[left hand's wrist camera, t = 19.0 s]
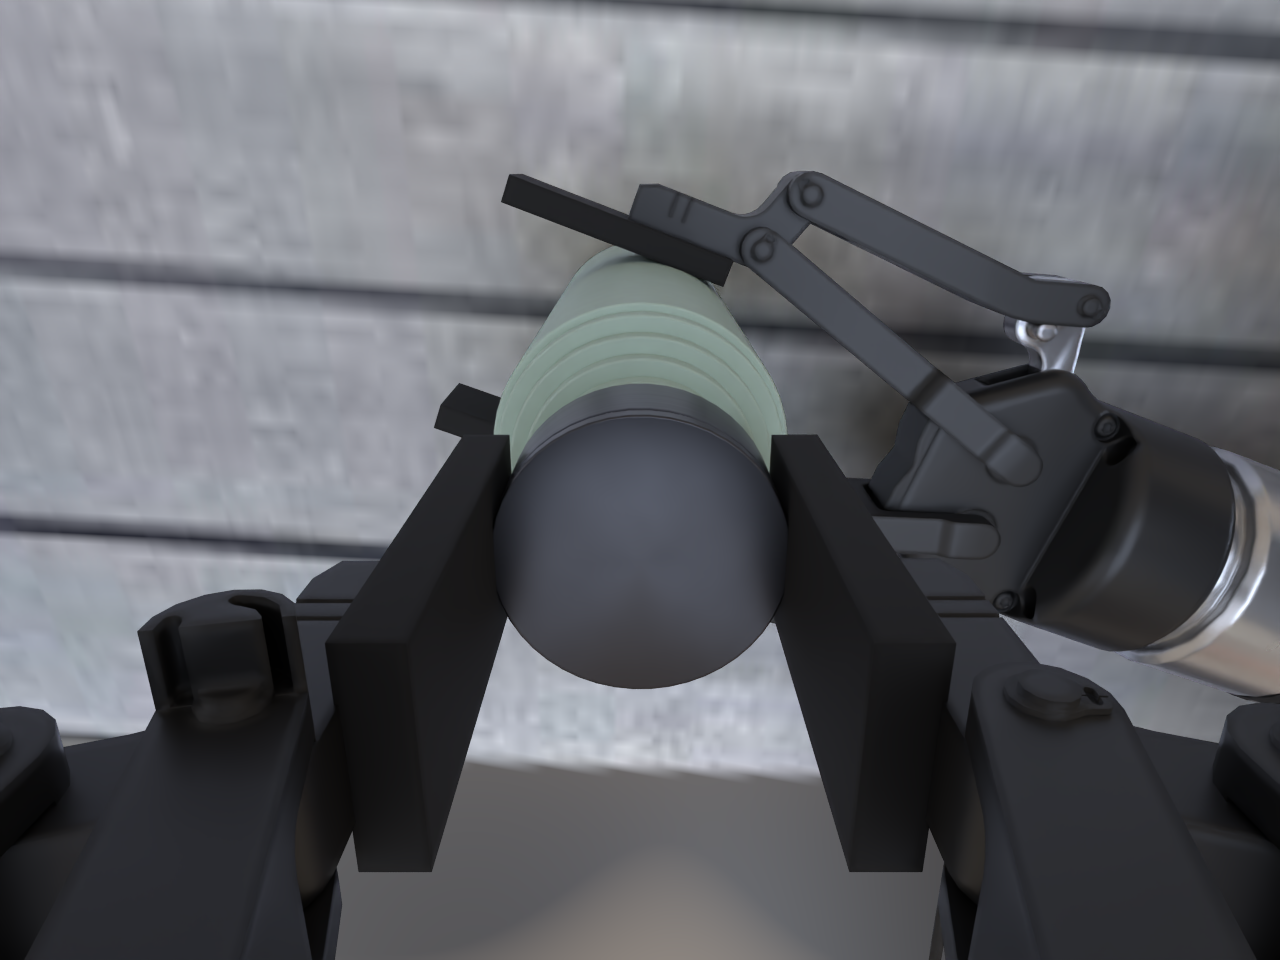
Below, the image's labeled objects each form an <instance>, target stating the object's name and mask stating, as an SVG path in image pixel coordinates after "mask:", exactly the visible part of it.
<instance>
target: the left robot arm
mask: <svg viewBox="0 0 1280 960" xmlns="http://www.w3.org/2000/svg"><path fill="white" fill-rule="evenodd" d="M769 473H770V476H771V478H772V480H773V483H774V485H775V487H776V490H777V492H778V494H779V497H780V499H781V502H782V504H783V507H784V509H785V512H786V515H787V519H788V526H789V527H788V544H787V559H786V574H785V589H784V596H783V599H782V602H781V604H780V606H779V608H778V609H777V611H776V613H775V615H774V620H775V623H776V627H777V630H778V633H779V637H780V640H781V643H782V647H783V650H784V653H785V657H786V660H787V664H788V667H789V670H790V674H791V677H792V680H793V684H794V687H795V691H796V694H797V697H798V701H799V704H800V707H801V711H802V714H803V717H804V721H805V724H806V728H807V731H808V734H809V738H810V741H811V744H812V748H813V751H814V754H815V758H816V761H817V765H818V768H819V771H820V775H821V778H822V781H823V785H824V788H825V791H826V795H827V798H828V802H829V805H830V808H831V812H832V815H833V818H834V822H835V825H836V828H837V832H838V835H839V839H840V842H841V845H842V849H843V852H844V855H845V858H846V862H847V866H848V869H849V872H922V871H923V864H924V858H925V851H926V844H927V838H928V831H929V828H930V831H931V833H932V835H933V837H934V840H935V842H936V844H937V847H938V849H939V851H940V853H941V856H942V858H943V860H944V866H943V873H942V879H941V885H940V891H939V898H938V904H937V910H936V916H935V923H934V929H933V935H932V941H931V949H930V956H929V960H941V957H942V951H943V946H944V952H945V959H946V960H1280V704H1274V703H1264V702H1262V703H1255V704H1249V705H1242V706H1239V707H1237V708H1236V709H1235V710H1234V711H1232V712H1231V713H1230V714H1228V715H1227V717H1226V721H1225V724H1224V728H1223V731H1222V735H1221V738H1220V742H1219V743H1214V742H1208V741H1203V740H1198V739H1193V738H1187V737H1182V736H1177V735H1171V734H1166V733H1161V732H1156V731H1151V730H1147V729H1143V728H1139V727H1135V726H1133V725H1132V723H1131V721H1130V719H1129V717H1128V715H1127V714H1126V712H1125V710H1124V708H1123V707H1122V706H1121V705H1120V704H1119V703H1118V701H1117V700H1116V699H1115V698H1114V697H1113V696H1112V695H1111V693H1109V692H1108V691H1106V690H1105V689H1103V688H1102V687H1100V686H1098V685H1097V684H1095V683H1094V682H1092V681H1091V680H1089V679H1087V678H1085V677H1082V676H1080V675H1077V674H1075V673H1072V672H1069V671H1067V670H1064V669H1062V668H1058V667H1053V666H1048V665H1043V664H1040V663H1039V662H1038V661H1037V659H1036V658H1035V657H1034V656H1033V655H1032V653H1031V652H1030V651H1029V650H1028V648H1027V647H1026V646H1025V645H1024V643H1023V642H1022V641H1021V640H1020V638H1019V637H1018V636H1017V635H1016V634H1015V632H1014V631H1013V630H1012V629H1011V627H1010V626H1009V625H1008V624H1007V622H1006V621H1005V620H1004V619H1003V618H999V613H998V611H997V610H996V609H995V608H994V606H993V605H992V604H991V603H990V601H989V600H985V595H984V594H983V593H982V592H981V590H980V589H979V588H978V587H977V585H976V584H975V583H974V582H973V580H972V579H971V578H970V577H969V576H968V575H967V574H965V573H963V572H962V571H960V570H958V569H956V568H955V567H953V566H951V565H950V564H948V563H946V562H945V561H943V560H941V559H940V558H899V556H898V555H897V553H896V552H895V550H894V549H893V547H892V546H891V544H890V543H889V541H888V540H887V538H886V537H885V535H884V534H883V532H882V531H881V529H880V528H879V526H878V525H877V523H876V522H875V520H874V519H873V517H872V516H871V514H870V513H869V512H868V510H867V509H866V507H865V506H864V504H863V503H862V501H861V500H860V498H859V497H858V495H857V494H856V492H855V491H854V489H853V488H852V486H851V485H850V483H849V482H848V480H847V479H846V477H845V476H844V474H843V473H842V471H841V470H840V468H839V467H838V465H837V464H836V462H835V461H834V459H833V458H832V456H831V455H830V453H829V452H828V450H827V449H826V447H825V446H824V444H823V443H822V441H821V440H820V438H819V437H818V435H771V453H770V471H769ZM511 474H512V471H511V453H510V435H463V437H462V438H461V440H460V441H459V443H458V444H457V446H456V447H455V449H454V450H453V452H452V453H451V455H450V456H449V458H448V459H447V461H446V462H445V464H444V465H443V467H442V468H441V470H440V471H439V473H438V474H437V476H436V477H435V479H434V480H433V482H432V483H431V485H430V486H429V488H428V489H427V491H426V492H425V494H424V495H423V497H422V498H421V500H420V501H419V503H418V504H417V506H416V507H415V509H414V510H413V512H412V513H411V515H410V516H409V518H408V519H407V521H406V522H405V524H404V525H403V527H402V528H401V530H400V531H399V533H398V534H397V536H396V537H395V539H394V540H393V542H392V543H391V545H390V546H389V548H388V549H387V551H386V552H385V554H384V555H383V557H382V558H381V560H380V561H342V562H340V563H338V564H336V565H335V566H333V567H331V568H330V569H328V570H326V571H325V572H323V573H321V574H320V575H318V576H316V577H315V578H313V579H312V580H311V582H310V583H309V584H308V585H307V586H306V588H305V589H304V590H303V591H302V593H301V594H300V595H299V596H298V598H297V599H296V603H294V602H292V601H291V600H290V599H288V598H287V597H285V596H284V595H283V594H280V593H275V592H270V591H266V590H231V591H225V592H219V593H213V594H207V595H203V596H200V597H197V598H194V599H191V600H188V601H185V602H182V603H179V604H176V605H174V606H172V607H170V608H169V609H167V610H165V611H163V612H161V613H159V614H157V615H155V616H154V617H152V618H151V619H150V620H149V621H148V622H147V623H146V624H145V625H144V626H143V627H142V628H141V629H139V630H138V631H137V632H138V637H139V641H140V645H141V649H142V654H143V658H144V662H145V666H146V670H147V675H148V679H149V683H150V687H151V692H152V696H153V700H154V704H155V709H156V711H155V713H154V715H153V717H152V719H151V721H150V723H149V724H148V726H147V728H146V730H145V731H142V732H138V733H134V734H130V735H125V736H119V737H114V738H109V739H104V740H98V741H93V742H88V743H83V744H77V745H72V746H67V747H63V744H62V741H61V737H60V734H59V730H58V727H57V723H56V720H55V719H54V718H53V717H51V716H50V715H49V714H48V713H46V712H45V711H44V710H41V709H34V708H28V707H21V706H17V707H7V708H0V960H335V954H336V947H337V939H338V932H339V924H340V917H341V909H342V900H341V892H340V885H339V879H338V873H337V865H338V863H339V860H340V858H341V856H342V853H343V851H344V849H345V846H346V844H347V842H348V840H349V837H350V835H351V833H352V831H353V837H354V844H355V851H356V857H357V864H358V871H359V872H432V869H433V866H434V862H435V859H436V855H437V852H438V849H439V845H440V842H441V839H442V835H443V832H444V828H445V825H446V822H447V818H448V815H449V812H450V808H451V805H452V802H453V798H454V795H455V791H456V788H457V785H458V781H459V778H460V774H461V771H462V768H463V765H464V761H465V758H466V754H467V751H468V748H469V744H470V741H471V738H472V734H473V731H474V727H475V724H476V721H477V717H478V714H479V711H480V707H481V704H482V701H483V697H484V694H485V690H486V687H487V684H488V680H489V677H490V674H491V670H492V667H493V663H494V660H495V657H496V653H497V650H498V647H499V643H500V640H501V637H502V633H503V630H504V626H505V623H506V620H507V614H506V612H505V611H504V609H503V607H502V605H501V603H500V600H499V597H498V595H497V589H496V574H495V559H494V544H493V521H494V517H495V514H496V511H497V508H498V506H499V503H500V500H501V498H502V495H503V493H504V491H505V488H506V486H507V484H508V481H509V479H510V477H511Z"/></svg>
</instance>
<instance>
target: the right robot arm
mask: <svg viewBox="0 0 1280 960" xmlns="http://www.w3.org/2000/svg"><path fill="white" fill-rule="evenodd" d="M501 202H502V203H505V204H508V205H510V206H513V207H515V208H518V209H521V210H523V211H526V212H528V213H531V214H534V215H536V216H539V217H542V218H544V219H547V220H549V221H552V222H555V223H557V224H560V225H562V226H565V227H568V228H570V229H573V230H576V231H578V232H581V233H583V234H586V235H589V236H591V237H594V238H596V239H599V240H602V241H604V242H607V243H610V244H612V245H615V246H617V247H620V248H623V249H625V250H628V251H630V252H633V253H636V254H638V255H641V256H644V257H646V258H649V259H651V260H654V261H657V262H659V263H662V264H664V265H667V266H670V267H673V268H675V269H678V270H681V271H683V272H685V273H688V274H691V275H693V276H696V277H698V278H701V279H704V280H706V281H709V282H711V283H714V284H717V285H719V286H722V287H723V286H724V284H725V281H726V278H727V276H728V273H729V271H730V268H731V266H732V263H733V262H736V263H739V264H741V265H744V266H746V267H749V268H750V269H751V270H752V271H754V272H755V273H756V274H757V275H758V276H760V277H761V278H762V279H763V280H764V281H766V282H767V283H768V284H769V285H770V286H771V287H773V288H774V289H775V290H776V291H777V292H779V293H780V294H781V295H782V296H783V297H785V298H786V299H787V300H788V301H789V302H791V303H792V304H793V305H794V306H795V307H797V308H798V309H799V310H800V311H801V312H803V313H804V314H805V315H806V316H807V317H809V318H810V319H811V320H812V321H813V322H815V323H816V324H817V325H818V326H819V327H821V328H822V329H823V330H824V331H825V332H827V333H828V334H829V335H830V336H831V337H833V338H834V339H835V340H836V341H837V342H839V343H840V344H841V345H842V346H843V347H845V348H846V349H847V350H848V351H849V352H851V353H852V354H853V355H854V356H855V357H857V358H858V359H859V360H860V361H861V362H863V363H864V364H865V365H866V366H867V367H869V368H870V369H871V370H872V371H873V372H875V373H876V374H877V375H878V376H879V377H881V378H882V379H883V380H884V381H885V382H887V383H888V384H889V385H890V386H891V387H893V388H894V389H895V390H896V391H897V392H899V393H900V394H901V395H902V396H903V397H905V398H906V399H907V400H908V401H909V404H908V406H907V408H906V410H905V412H904V414H903V416H902V418H901V420H900V422H899V426H898V430H897V435H896V440H895V445H894V447H893V448H892V450H891V451H890V452H889V453H888V454H887V456H886V457H885V458H884V459H883V460H882V461H881V463H880V464H879V465H878V466H877V468H876V470H875V472H874V474H873V476H872V478H871V479H857V478H846V479H847V480H848V482H849V483H850V485H851V486H852V488H853V489H854V491H855V492H856V494H857V495H858V497H859V498H860V500H861V501H862V503H863V504H864V506H865V507H866V509H867V510H868V512H869V513H870V514H871V516H872V517H873V519H874V520H875V522H876V523H877V525H878V526H879V528H880V529H881V531H882V532H883V534H884V535H885V537H886V538H887V540H888V541H889V543H890V544H891V546H892V547H893V549H894V550H895V552H896V553H897V554H898V556H899V557H900V558H940V559H941V560H943V561H945V562H946V563H948V564H950V565H951V566H953V567H955V568H956V569H958V570H960V571H962V572H963V573H965V574H967V575H968V576H969V577H970V578H971V579H972V580H973V582H974V583H975V584H976V585H977V587H978V588H979V589H980V590H981V592H982V593H983V594H984V595H985V600H989V601H990V603H991V604H992V605H993V606H994V608H995V609H996V610H997V611H998V613H1000V614H1002V615H1005V616H1007V617H1010V618H1012V619H1015V620H1017V621H1020V622H1023V623H1026V624H1029V625H1032V626H1034V627H1037V628H1040V629H1043V630H1046V631H1049V632H1052V633H1055V634H1058V635H1060V636H1063V637H1066V638H1069V639H1072V640H1075V641H1078V642H1081V643H1084V644H1086V645H1089V646H1092V647H1095V648H1098V649H1102V650H1106V651H1114V652H1116V653H1117V654H1119V655H1121V656H1123V657H1125V658H1126V659H1128V660H1130V661H1134V662H1137V663H1140V664H1143V665H1146V666H1149V667H1152V668H1155V669H1158V670H1161V671H1164V672H1167V673H1170V674H1173V675H1176V676H1179V677H1182V678H1185V679H1188V680H1192V681H1195V682H1198V683H1201V684H1204V685H1207V686H1210V687H1213V688H1216V689H1219V690H1222V691H1225V692H1227V693H1230V694H1232V695H1234V696H1237V697H1240V698H1243V699H1245V700H1251V701H1253V702H1256V703H1262V702H1264V703H1274V704H1280V470H1277V469H1274V468H1272V467H1269V466H1267V465H1264V464H1262V463H1259V462H1257V461H1254V460H1251V459H1249V458H1246V457H1244V456H1241V455H1239V454H1236V453H1234V452H1231V451H1227V450H1224V449H1220V448H1217V447H1210V446H1209V445H1207V444H1206V443H1204V442H1203V441H1201V440H1199V439H1197V438H1195V437H1192V436H1189V435H1187V434H1184V433H1182V432H1179V431H1177V430H1174V429H1171V428H1169V427H1166V426H1164V425H1161V424H1159V423H1156V422H1153V421H1151V420H1148V419H1146V418H1143V417H1141V416H1138V415H1135V414H1133V413H1130V412H1128V411H1125V410H1122V409H1120V408H1117V407H1115V406H1112V405H1110V404H1107V403H1104V402H1102V401H1099V400H1098V399H1096V398H1095V397H1094V396H1093V395H1092V394H1091V392H1090V391H1089V390H1088V388H1087V386H1086V385H1085V383H1084V382H1083V381H1082V380H1081V379H1080V378H1079V377H1078V376H1076V375H1075V374H1073V373H1074V369H1075V366H1076V362H1077V358H1078V354H1079V350H1080V346H1081V342H1082V339H1083V335H1084V331H1085V328H1086V327H1093V326H1095V325H1096V324H1098V323H1100V322H1101V321H1102V320H1103V319H1104V318H1105V317H1106V316H1107V314H1108V311H1109V309H1110V301H1111V300H1110V297H1109V294H1108V292H1107V291H1106V290H1105V289H1103V288H1102V287H1099V286H1096V285H1092V284H1088V283H1084V282H1080V281H1076V280H1072V279H1068V278H1064V277H1060V276H1056V275H1046V274H1033V273H1020V272H1018V271H1016V270H1014V269H1012V268H1010V267H1008V266H1006V265H1004V264H1002V263H1000V262H998V261H996V260H994V259H992V258H990V257H988V256H986V255H984V254H982V253H980V252H978V251H976V250H974V249H972V248H970V247H968V246H966V245H964V244H962V243H960V242H958V241H956V240H954V239H952V238H950V237H948V236H946V235H944V234H942V233H940V232H938V231H936V230H934V229H932V228H930V227H928V226H926V225H924V224H922V223H920V222H918V221H916V220H914V219H912V218H910V217H908V216H906V215H904V214H902V213H900V212H898V211H896V210H894V209H892V208H890V207H888V206H886V205H884V204H882V203H880V202H878V201H876V200H874V199H872V198H870V197H868V196H866V195H864V194H862V193H860V192H858V191H856V190H854V189H852V188H850V187H848V186H846V185H844V184H842V183H840V182H838V181H836V180H834V179H832V178H830V177H828V176H826V175H824V174H822V173H818V172H814V171H796V172H791V173H789V174H787V175H785V176H784V177H783V178H782V179H781V180H780V182H779V183H778V185H777V188H776V189H775V190H774V191H773V192H772V194H771V195H770V196H769V197H768V198H767V199H766V201H765V202H764V203H763V204H762V205H761V206H760V207H759V208H758V209H756V210H755V211H753V212H751V213H747V214H735V213H731V212H729V211H726V210H724V209H721V208H718V207H716V206H713V205H711V204H708V203H706V202H703V201H701V200H698V199H696V198H693V197H691V196H688V195H685V194H683V193H680V192H678V191H675V190H673V189H670V188H668V187H665V186H663V185H660V184H640V185H639V188H638V191H637V193H636V196H635V199H634V202H633V205H632V208H631V211H630V213H629V215H627V214H624V213H622V212H619V211H616V210H614V209H611V208H609V207H606V206H604V205H601V204H598V203H596V202H593V201H591V200H588V199H585V198H583V197H580V196H578V195H575V194H573V193H570V192H567V191H565V190H562V189H560V188H557V187H555V186H552V185H549V184H547V183H544V182H542V181H539V180H537V179H534V178H531V177H529V176H526V175H524V174H509V177H508V180H507V184H506V187H505V190H504V194H503V197H502V200H501ZM810 224H812V225H814V226H816V227H818V228H820V229H822V230H824V231H827V232H829V233H831V234H833V235H835V236H837V237H839V238H841V239H843V240H845V241H847V242H849V243H851V244H853V245H855V246H857V247H859V248H861V249H863V250H865V251H867V252H869V253H872V254H874V255H876V256H878V257H880V258H882V259H884V260H886V261H888V262H890V263H892V264H894V265H896V266H898V267H900V268H902V269H904V270H906V271H908V272H910V273H912V274H915V275H917V276H919V277H921V278H923V279H925V280H927V281H929V282H931V283H933V284H935V285H937V286H939V287H941V288H943V289H945V290H947V291H949V292H951V293H953V294H955V295H958V296H960V297H962V298H964V299H966V300H968V301H970V302H973V303H975V304H978V305H980V306H983V307H985V308H988V309H990V310H993V311H995V312H998V313H1000V314H1003V315H1005V317H1004V323H1003V328H1004V332H1005V333H1006V335H1007V337H1009V338H1010V339H1011V340H1013V341H1015V342H1018V343H1020V344H1022V345H1024V346H1025V347H1026V349H1027V350H1028V353H1029V363H1028V364H1025V365H1021V366H1017V367H1013V368H1010V369H1006V370H1002V371H998V372H994V373H991V374H987V375H983V376H979V377H975V378H972V379H968V380H964V381H960V382H956V383H954V382H953V381H952V380H951V379H949V378H948V377H947V376H946V375H944V374H943V373H942V372H941V371H939V370H938V369H937V368H936V367H934V366H933V365H932V364H931V363H930V362H928V361H927V360H926V359H925V358H924V357H923V356H921V355H920V354H919V353H918V352H917V351H915V350H914V349H913V348H912V347H911V346H910V345H908V344H907V343H906V342H905V341H904V340H903V339H901V338H900V337H899V336H898V335H897V334H896V333H894V332H893V331H892V330H891V329H890V328H889V327H887V326H886V325H885V324H884V323H883V322H882V321H880V320H879V319H878V318H877V317H876V316H874V315H873V314H872V313H871V312H870V311H869V310H867V309H866V308H865V307H864V306H863V305H862V304H860V303H859V302H858V301H857V300H856V299H855V298H853V297H852V296H851V295H850V294H849V293H848V292H846V291H845V290H844V289H843V288H842V287H841V286H839V285H838V284H837V283H836V282H835V281H833V280H832V279H831V278H830V277H829V276H828V275H826V274H825V273H824V272H823V271H822V270H821V269H819V268H818V267H817V266H816V265H815V264H814V263H812V262H811V261H810V260H809V259H808V258H807V257H805V256H804V255H803V254H802V253H801V252H799V251H798V250H797V249H796V248H795V247H794V246H792V244H793V243H794V242H795V240H796V239H797V238H798V237H799V236H800V235H801V234H802V232H803V231H804V230H805V229H806V228H807V227H808V226H809V225H810ZM500 400H501V398H500V397H497V396H494V395H492V394H489V393H486V392H483V391H480V390H477V389H475V388H472V387H469V386H466V385H463V384H460V383H459V384H458V385H457V386H456V388H455V389H454V390H453V391H452V392H451V393H450V395H449V396H448V397H447V398H446V399H445V400H444V402H443V403H442V404H441V406H440V409H439V412H438V416H437V419H436V422H435V426H434V428H436V429H439V430H442V431H445V432H448V433H451V434H453V435H456V436H459V437H463V435H494V426H495V420H496V414H497V410H498V406H499V403H500ZM771 623H775V620H774V617H773V619H772V620H771ZM775 624H776V623H775Z"/></svg>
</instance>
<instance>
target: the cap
mask: <svg viewBox="0 0 1280 960" xmlns="http://www.w3.org/2000/svg"><path fill="white" fill-rule="evenodd" d="M788 527H789V526H788V519H787V515H786V512H785V509H784V507H783V504H782V502H781V499H780V497H779V494H778V492H777V490H776V487H775V485H774V483H773V480H772V478H771V476H770V473H769V471H768V469H767V466H766V464H765V462H764V459H763V457H762V455H761V453H760V452H759V450H758V448H757V446H756V445H755V443H754V441H753V440H752V439H751V437H750V436H749V435H748V434H747V432H746V431H745V430H744V428H743V427H742V426H741V425H740V424H739V423H738V422H736V421H735V420H734V419H733V418H732V417H731V416H730V415H729V414H728V413H726V412H725V411H723V410H722V409H721V408H719V407H718V406H717V405H715V404H713V403H711V402H710V401H708V400H706V399H704V398H702V397H700V396H698V395H695V394H693V393H690V392H688V391H685V390H682V389H678V388H674V387H670V386H665V385H656V384H625V385H617V386H611V387H607V388H604V389H600V390H596V391H593V392H591V393H589V394H586V395H584V396H581V397H579V398H577V399H575V400H573V401H572V402H570V403H568V404H567V405H565V406H563V407H562V408H560V409H559V410H558V411H557V412H555V413H554V414H553V415H551V416H550V417H549V418H548V419H547V420H546V421H545V422H544V423H543V424H542V425H541V426H540V427H539V428H538V429H537V430H536V431H535V433H534V434H533V435H532V437H531V438H530V439H529V441H528V442H527V443H526V445H525V447H524V449H523V451H522V452H521V454H520V456H519V458H518V460H517V463H516V465H515V467H514V470H513V472H512V474H511V477H510V479H509V481H508V484H507V486H506V488H505V491H504V493H503V495H502V498H501V500H500V503H499V506H498V508H497V511H496V514H495V517H494V521H493V544H494V559H495V574H496V589H497V595H498V597H499V600H500V603H501V605H502V607H503V609H504V611H505V612H506V614H507V616H508V618H509V620H510V621H511V623H512V624H513V625H514V627H515V628H516V629H517V631H518V632H519V634H520V635H521V636H522V637H523V638H524V639H525V640H526V641H527V642H528V643H529V644H530V645H531V647H532V648H534V649H535V650H536V651H537V652H538V653H540V654H541V655H542V656H543V657H545V658H546V659H547V660H549V661H550V662H552V663H553V664H555V665H556V666H558V667H560V668H561V669H563V670H565V671H567V672H569V673H571V674H573V675H575V676H578V677H580V678H583V679H586V680H589V681H592V682H595V683H598V684H603V685H607V686H612V687H619V688H628V689H654V688H662V687H670V686H674V685H679V684H683V683H687V682H690V681H693V680H696V679H698V678H701V677H704V676H706V675H708V674H710V673H712V672H714V671H716V670H718V669H720V668H722V667H724V666H725V665H727V664H728V663H730V662H731V661H733V660H734V659H736V658H737V657H738V656H739V655H741V654H742V653H743V652H744V651H745V650H747V649H748V648H749V647H750V646H751V645H752V644H753V643H754V642H755V641H756V640H757V639H758V637H759V636H760V635H761V634H762V633H763V632H764V630H765V629H766V627H767V626H768V625H769V623H770V622H771V620H772V619H773V617H774V615H775V613H776V611H777V609H778V608H779V606H780V604H781V602H782V599H783V596H784V589H785V574H786V559H787V544H788Z"/></svg>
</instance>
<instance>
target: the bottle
mask: <svg viewBox="0 0 1280 960" xmlns="http://www.w3.org/2000/svg"><path fill="white" fill-rule="evenodd" d="M625 384H656V385H665V386H670V387H674V388H678V389H682V390H685V391H688V392H690V393H693V394H695V395H698V396H700V397H702V398H704V399H706V400H708V401H710V402H711V403H713V404H715V405H717V406H718V407H719V408H721V409H722V410H723V411H725V412H726V413H728V414H729V415H730V416H731V417H732V418H733V419H734V420H735V421H736V422H738V423H739V424H740V425H741V426H742V427H743V428H744V430H745V431H746V432H747V434H748V435H749V436H750V437H751V439H752V440H753V441H754V443H755V445H756V446H757V448H758V450H759V452H760V453H761V455H762V457H763V459H764V462H765V464H766V466H767V469H768V471H770V453H771V435H788V433H787V426H786V418H785V413H784V409H783V406H782V402H781V399H780V396H779V393H778V391H777V389H776V387H775V384H774V382H773V380H772V378H771V376H770V375H769V373H768V372H767V370H766V368H765V367H764V365H763V363H762V362H761V360H760V359H759V357H758V355H757V354H756V352H755V351H754V349H753V348H752V346H751V344H750V343H749V341H748V340H747V338H746V337H745V335H744V334H743V332H742V330H741V329H740V327H739V326H738V324H737V323H736V321H735V319H734V318H733V316H732V315H731V313H730V312H729V310H728V308H727V307H726V305H725V304H724V302H723V301H722V299H721V297H720V296H719V294H718V293H717V291H716V290H715V288H714V286H713V285H712V283H711V282H709V281H706V280H704V279H701V278H698V277H696V276H693V275H691V274H688V273H685V272H683V271H681V270H678V269H675V268H673V267H670V266H667V265H664V264H662V263H659V262H657V261H654V260H651V259H649V258H646V257H644V256H641V255H638V254H636V253H633V252H630V251H628V250H625V249H623V248H620V247H617V246H612V247H609V248H607V249H605V250H603V251H601V252H599V253H598V254H596V255H595V256H593V257H592V258H590V259H589V260H588V261H587V262H586V263H585V264H584V265H583V266H582V267H581V268H580V269H579V270H578V271H577V273H576V274H575V275H574V277H573V278H572V280H571V282H570V283H569V285H568V286H567V288H566V289H565V291H564V293H563V294H562V296H561V297H560V299H559V300H558V302H557V304H556V305H555V307H554V308H553V310H552V312H551V313H550V315H549V316H548V318H547V319H546V321H545V323H544V324H543V326H542V327H541V329H540V331H539V332H538V334H537V335H536V337H535V338H534V340H533V342H532V343H531V345H530V346H529V348H528V349H527V351H526V353H525V354H524V356H523V357H522V359H521V361H520V362H519V364H518V365H517V367H516V368H515V370H514V372H513V373H512V375H511V376H510V378H509V381H508V383H507V385H506V387H505V389H504V391H503V393H502V396H501V400H500V403H499V406H498V410H497V414H496V420H495V426H494V435H510V453H511V471H512V472H513V470H514V467H515V465H516V463H517V460H518V458H519V456H520V454H521V452H522V451H523V449H524V447H525V445H526V443H527V442H528V441H529V439H530V438H531V437H532V435H533V434H534V433H535V431H536V430H537V429H538V428H539V427H540V426H541V425H542V424H543V423H544V422H545V421H546V420H547V419H548V418H549V417H550V416H551V415H553V414H554V413H555V412H557V411H558V410H559V409H560V408H562V407H563V406H565V405H567V404H568V403H570V402H572V401H573V400H575V399H577V398H579V397H581V396H584V395H586V394H589V393H591V392H593V391H596V390H600V389H604V388H607V387H611V386H617V385H625Z"/></svg>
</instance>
